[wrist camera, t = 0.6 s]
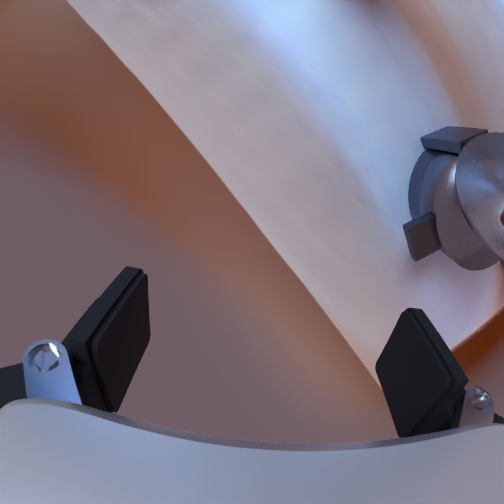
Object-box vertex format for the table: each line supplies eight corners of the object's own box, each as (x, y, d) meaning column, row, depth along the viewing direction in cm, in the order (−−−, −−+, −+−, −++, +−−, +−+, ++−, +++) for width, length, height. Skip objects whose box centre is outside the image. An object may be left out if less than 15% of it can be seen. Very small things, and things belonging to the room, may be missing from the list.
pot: (364, 161, 37) (394, 170, 28) (485, 111, 32) (524, 113, 23) (401, 272, 44) (428, 304, 35) (506, 212, 38) (539, 229, 29)
